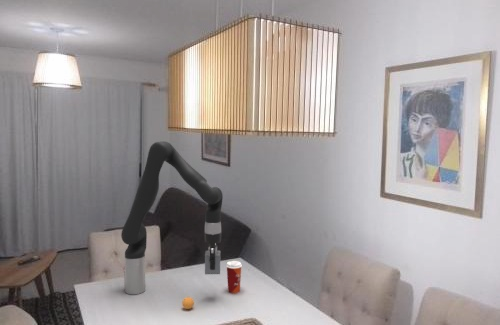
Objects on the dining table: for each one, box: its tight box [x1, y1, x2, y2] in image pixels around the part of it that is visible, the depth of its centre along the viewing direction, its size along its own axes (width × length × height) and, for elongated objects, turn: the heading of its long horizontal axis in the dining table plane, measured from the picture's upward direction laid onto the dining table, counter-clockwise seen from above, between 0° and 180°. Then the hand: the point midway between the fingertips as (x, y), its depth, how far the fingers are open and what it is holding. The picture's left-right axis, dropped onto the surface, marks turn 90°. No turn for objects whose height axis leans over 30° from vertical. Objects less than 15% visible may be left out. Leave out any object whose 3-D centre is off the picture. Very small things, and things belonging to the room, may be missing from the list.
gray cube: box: [204, 250, 221, 275], centre depth 181 cm, size 7×7×9 cm
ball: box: [181, 296, 195, 310], centre depth 172 cm, size 5×5×5 cm
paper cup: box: [225, 260, 243, 294], centre depth 191 cm, size 8×8×14 cm
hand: (212, 266), depth 181 cm, fingers closed on gray cube, 7 cm apart
